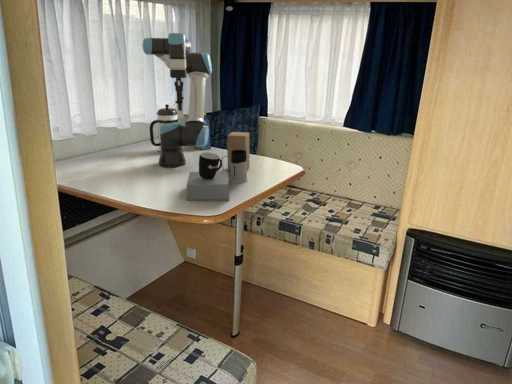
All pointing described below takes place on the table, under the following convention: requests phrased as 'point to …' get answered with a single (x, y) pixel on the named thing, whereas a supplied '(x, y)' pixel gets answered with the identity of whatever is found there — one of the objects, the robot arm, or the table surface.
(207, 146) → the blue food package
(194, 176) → the large grey square box
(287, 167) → the table surface
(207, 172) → the mug
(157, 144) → the coffee press
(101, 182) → the table surface
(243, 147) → the wooden block
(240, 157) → the glass holder
